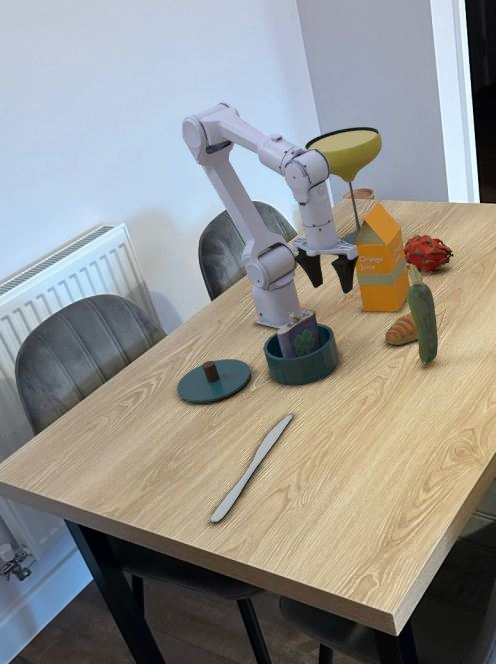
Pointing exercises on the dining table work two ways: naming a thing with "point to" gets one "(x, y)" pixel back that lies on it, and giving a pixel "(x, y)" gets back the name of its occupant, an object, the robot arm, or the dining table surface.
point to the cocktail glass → (348, 156)
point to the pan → (302, 360)
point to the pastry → (402, 331)
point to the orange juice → (381, 262)
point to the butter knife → (250, 470)
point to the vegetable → (423, 315)
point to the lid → (213, 380)
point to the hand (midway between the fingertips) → (333, 288)
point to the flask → (299, 335)
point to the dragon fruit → (427, 253)
